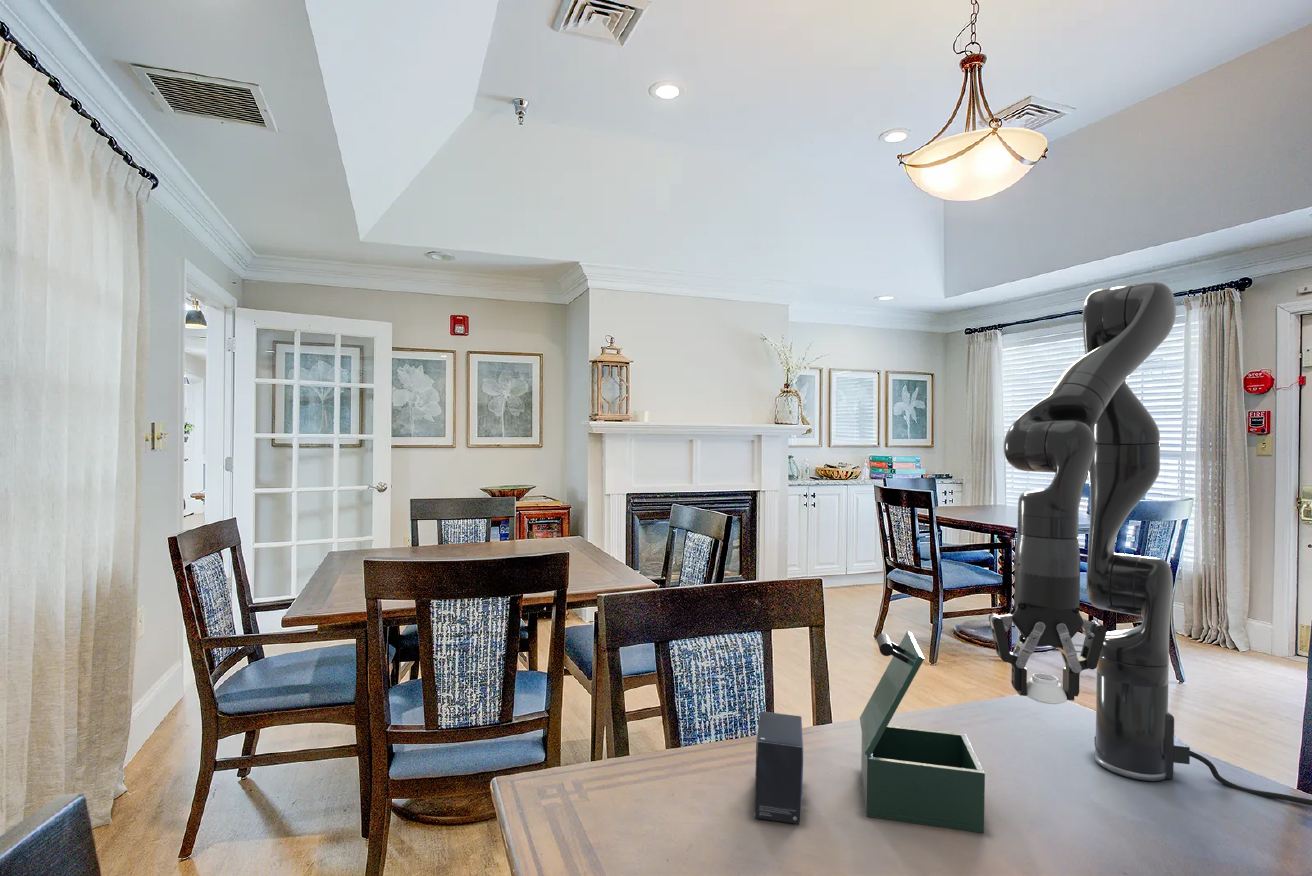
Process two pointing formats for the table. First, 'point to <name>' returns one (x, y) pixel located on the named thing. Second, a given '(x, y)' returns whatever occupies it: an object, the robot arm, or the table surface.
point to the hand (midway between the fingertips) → (1044, 695)
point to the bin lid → (889, 687)
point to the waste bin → (924, 779)
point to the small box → (779, 768)
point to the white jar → (1045, 689)
